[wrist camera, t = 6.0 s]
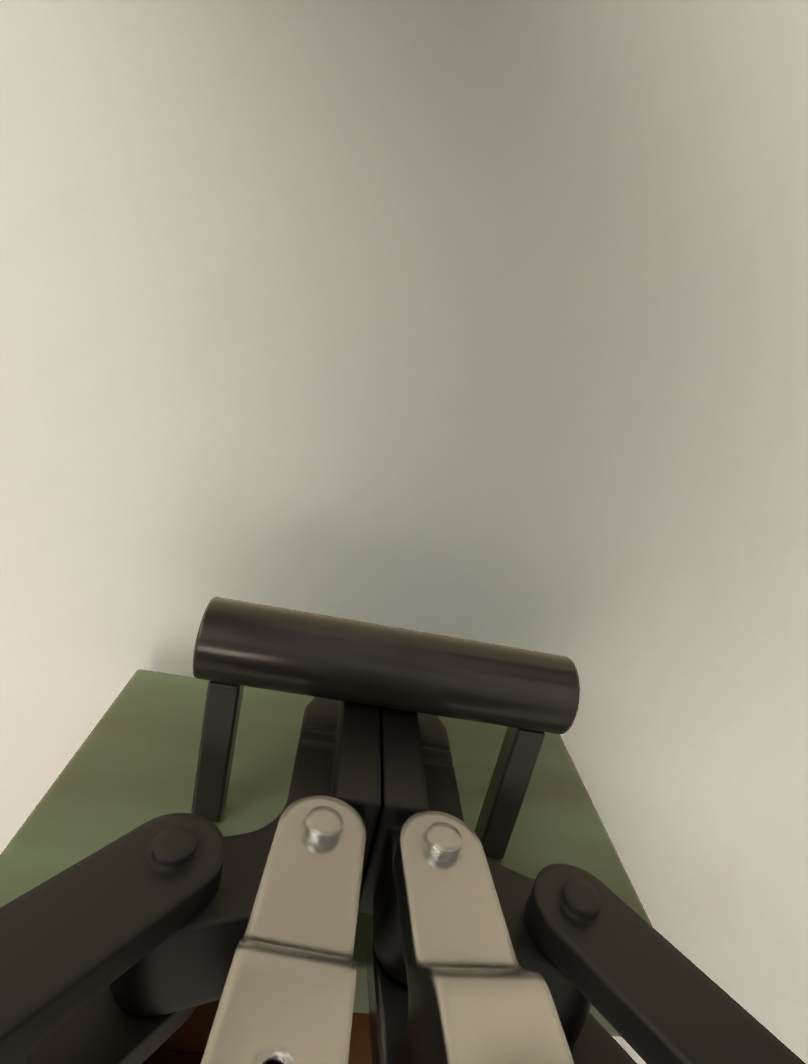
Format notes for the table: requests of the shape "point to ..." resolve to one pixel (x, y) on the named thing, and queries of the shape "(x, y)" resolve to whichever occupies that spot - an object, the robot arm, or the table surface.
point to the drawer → (271, 745)
